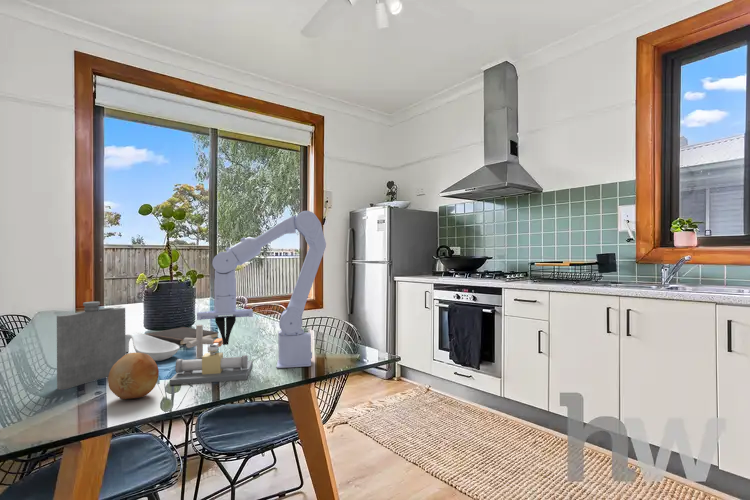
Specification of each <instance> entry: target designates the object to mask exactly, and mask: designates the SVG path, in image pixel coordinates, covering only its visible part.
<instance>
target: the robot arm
mask: <svg viewBox="0 0 750 500" xmlns="http://www.w3.org/2000/svg"><path fill="white" fill-rule="evenodd" d="M297 231H298V233H300V234H301V236H303V238H304V239H305V242H306V243H307V245H308V250H307V253H306V255H305V257H304V261H303V264H302V267H301V269H300V273H299V274H298V277H297V279H296V283H295V286H294V288H293V291H292V294H291V296H290V299H289V302H288V304H287V307H286V309H284V310H283V311H282V312H281V315H280V319H279V322H278V323H279V324H278V326H279V329H280V330H279V331H278V336H277V337H278V342H277V343H278V347H277V348H278V349H277V350H278V359H277V363H276V369H286V368H299V367H300V368H301V367H304V368H305V367H311V366H312V358H313V352H312V336H311V335H312V334H311V332H305V329H303V328H302V327H303V315H304V314H303V313H304V312H305V307H306V303H307V301H308V298H309V295H310V292H311V290H312V286H313V284H314V280H315V278H316V276H317V273H318V270H319V267H320V264H321V261H322V258H323V256H324V253H325V251H326V248H327V242H326V238H325V235H324V232H323V227H322V222H321V220H320V219H319V218H318V217H317V215H316V214H315V213H314V212H313V211H310V210H303V211H301V212H299V213H298V214H294V215H292V216H290V217H287V218H286V219H283V220H282V221H280V222H279V223H277V224H276V225H274V226H273V227H271V228H270V229H268V230H266V231H265V232H263V233H261V234H260V235H258V236H257V237H251V236H248V237H241V238H240V240H239V242H238V243H236V244H234V245H233V246H231V247H229V246H227V247H226V248H225V251H220V252H218V253H217V254H216V255H215V256H214V257H213V259H212V267H213V269H214V280H213V282H214V283H213V284H214V286H213V290H214V291H213V293H214V301H213V302H214V304H213V305H214V309H213V310H209V311H198V312H196V321H202V320H214V321H215V324H216V326H217V328H218V332H219V333H220V336H221V338H222V340H223V344H222V346H228V345H229V341H230V336H231V333H232V330H233V328H234V325H235V323H236V320H237V319H236V318H246V317H248V318H250V317H254V316H253V315H254V314H253V312H254V311H253V309H252V308H248V309H246V308H245V309H244V308H243V309H237V279H236V269H237V267H238V266H242V265H244V264H245V263H247V262H249V261H250V260H252V259H254V258H256V257H257V256H259V255H260V254H261V251H262V248H263V247H265V246H267V245H268V244H271V243H272V242H274V241H276V240H277V239H279V238H281V237H282V236H284V235H286V234H289V235H290V234H297Z"/></svg>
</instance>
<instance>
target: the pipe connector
mask: <svg viewBox="0 0 750 500" xmlns="http://www.w3.org/2000/svg"><path fill="white" fill-rule="evenodd" d="M203 327H204V325H203V324H196V326H195V329H196V338H184V340H183V343H185V344H184V345H186V348H188V349H190V348H193V347H196V348H195V349H196V358H195V359H202V357H203V356H204V355H203V354H204V349H203V346H204V345H209V346H210V345H213V342H214V341H215V340H216V339H215V338H212V337H211V336H210V335H208V336H205V337H203V330H204V329H203Z"/></svg>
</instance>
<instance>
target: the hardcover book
mask: <svg viewBox="0 0 750 500" xmlns="http://www.w3.org/2000/svg"><path fill="white" fill-rule="evenodd" d="M219 333H220V331H213V330H208V329H207V330H205V329H203V337H205V336H208V335H210V336H211V337H212V339H215V338H218V334H219ZM145 334H146V335H149V336H152V337H155V338H158V339H161V340H164V341H168V342H171V343H175V344H177V345H179V346H182V345H186V344H185V343H183V340H184V338H196V328H193V327H185V326H180V327H175V328H171V329H170V328H169V329H165V330H159V331H153V332H147V333H145Z"/></svg>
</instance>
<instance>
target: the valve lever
mask: <svg viewBox="0 0 750 500" xmlns="http://www.w3.org/2000/svg"><path fill="white" fill-rule="evenodd" d="M222 346H223V340H222V337H221V338H218V337H216V339H215V341H214V342H213V345H210V344H209V346H207V353H210V352H215V353H218V350H219V349H218V348H220V347H222Z"/></svg>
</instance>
